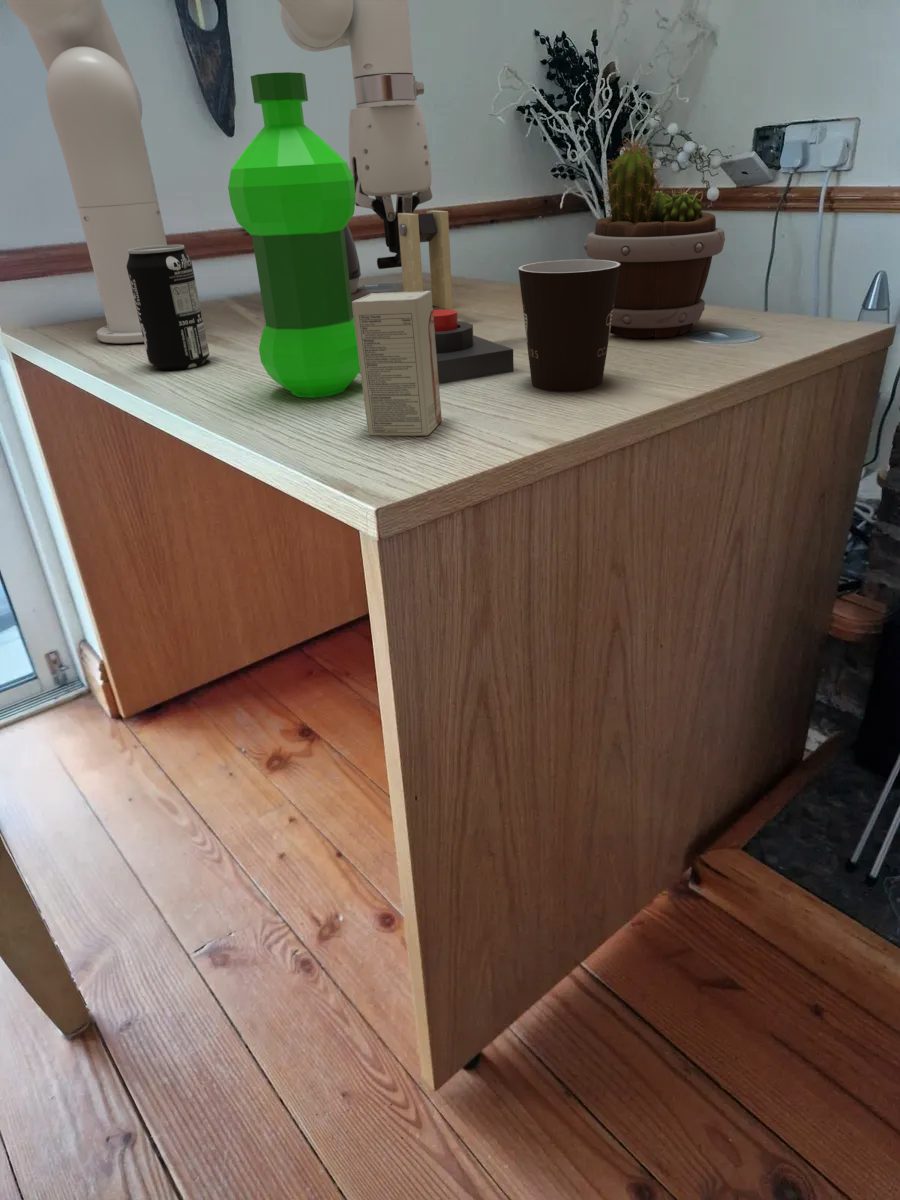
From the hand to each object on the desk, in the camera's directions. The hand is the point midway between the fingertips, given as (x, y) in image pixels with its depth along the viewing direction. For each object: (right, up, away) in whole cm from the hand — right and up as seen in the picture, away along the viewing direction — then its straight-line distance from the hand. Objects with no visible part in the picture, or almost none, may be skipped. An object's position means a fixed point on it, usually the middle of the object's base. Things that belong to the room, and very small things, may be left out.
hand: (398, 251), depth 109 cm
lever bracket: (+4, -11, -4) cm, 12 cm away
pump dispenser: (-11, -2, +13) cm, 17 cm away
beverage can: (-23, -22, -20) cm, 38 cm away
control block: (+6, -24, -29) cm, 38 cm away
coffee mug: (+19, -28, -35) cm, 49 cm away
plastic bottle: (-5, -28, -34) cm, 45 cm away
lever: (+2, -2, -5) cm, 6 cm away
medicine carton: (+4, -34, -46) cm, 58 cm away
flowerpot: (+30, -17, -18) cm, 39 cm away
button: (+6, -21, -30) cm, 38 cm away
